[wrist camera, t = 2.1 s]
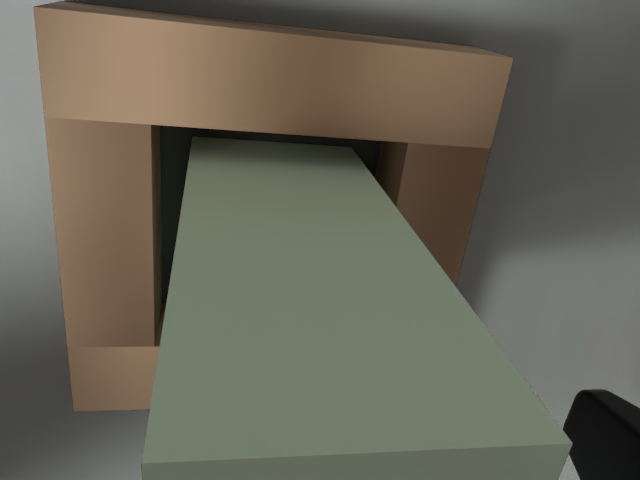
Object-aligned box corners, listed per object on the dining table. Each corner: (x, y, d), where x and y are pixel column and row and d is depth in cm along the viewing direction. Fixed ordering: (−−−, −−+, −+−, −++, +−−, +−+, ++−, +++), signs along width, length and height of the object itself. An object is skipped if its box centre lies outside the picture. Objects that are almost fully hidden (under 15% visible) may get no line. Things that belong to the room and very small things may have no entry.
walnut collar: (89, 361, 16) (73, 411, 14) (61, 1, 12) (33, 6, 10) (405, 357, 18) (426, 401, 16) (474, 46, 14) (513, 58, 12)
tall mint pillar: (190, 278, 15) (149, 720, 6) (192, 136, 13) (140, 463, 5) (332, 281, 16) (475, 675, 7) (351, 147, 14) (573, 442, 5)
